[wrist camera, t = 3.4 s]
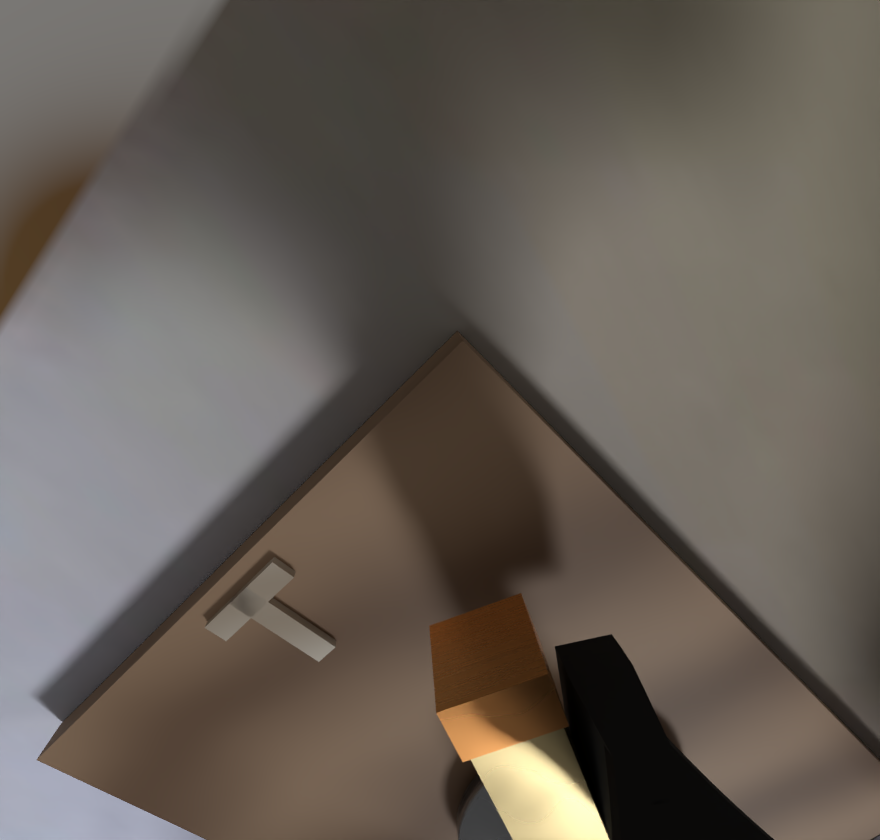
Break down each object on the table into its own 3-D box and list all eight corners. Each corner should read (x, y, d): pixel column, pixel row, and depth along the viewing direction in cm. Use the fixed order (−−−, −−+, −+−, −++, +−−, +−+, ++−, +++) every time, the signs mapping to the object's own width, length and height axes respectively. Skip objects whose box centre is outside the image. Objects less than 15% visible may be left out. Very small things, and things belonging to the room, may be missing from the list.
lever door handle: (711, 841, 16) (808, 1031, 12) (500, 909, 16) (531, 1113, 12) (613, 490, 11) (724, 625, 7) (316, 598, 11) (276, 780, 8)
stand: (896, 777, 17) (930, 814, 16) (566, 976, 20) (576, 1020, 19) (456, 330, 11) (464, 343, 10) (61, 723, 14) (31, 767, 13)
